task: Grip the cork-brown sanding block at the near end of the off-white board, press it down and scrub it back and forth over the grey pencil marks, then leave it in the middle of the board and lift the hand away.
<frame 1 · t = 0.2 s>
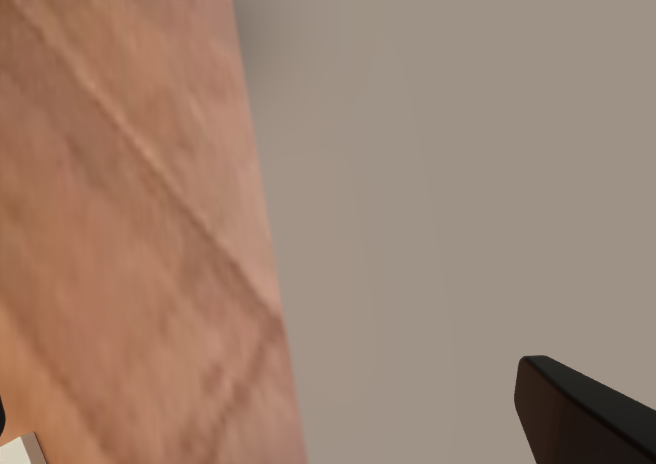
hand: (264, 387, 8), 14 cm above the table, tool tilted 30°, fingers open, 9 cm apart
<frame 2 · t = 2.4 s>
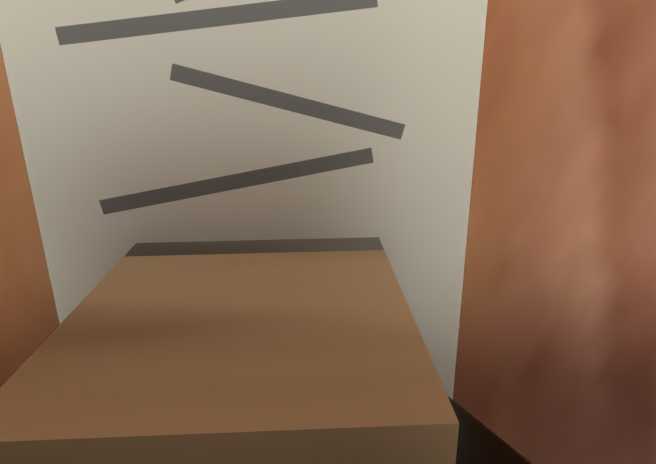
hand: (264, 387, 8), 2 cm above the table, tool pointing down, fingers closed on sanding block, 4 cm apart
board: (263, 221, 9), on the table
sanding block: (266, 369, 9), point 1 cm above the table, touching board, gripper
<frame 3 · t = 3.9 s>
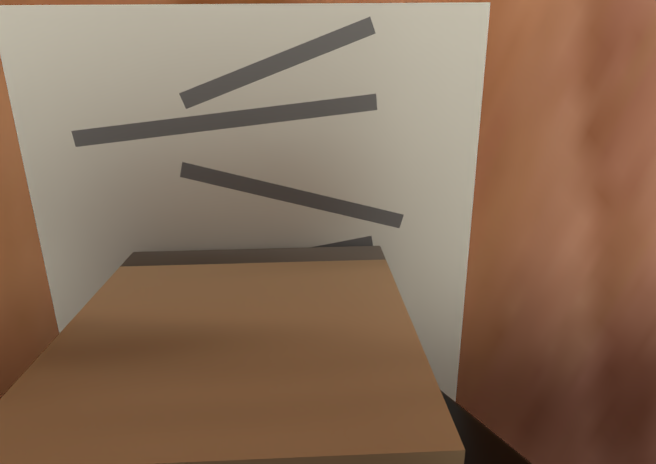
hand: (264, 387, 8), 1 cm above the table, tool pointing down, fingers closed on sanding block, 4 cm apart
board: (267, 294, 9), on the table
sanding block: (265, 378, 9), point 1 cm above the table, touching gripper
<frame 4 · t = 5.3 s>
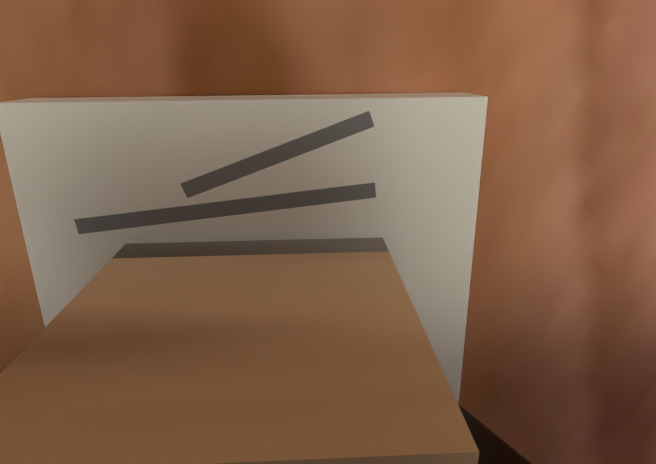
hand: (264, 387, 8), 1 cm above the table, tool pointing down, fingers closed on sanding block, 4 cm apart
board: (268, 360, 10), on the table
sanding block: (263, 375, 8), point 1 cm above the table, touching gripper
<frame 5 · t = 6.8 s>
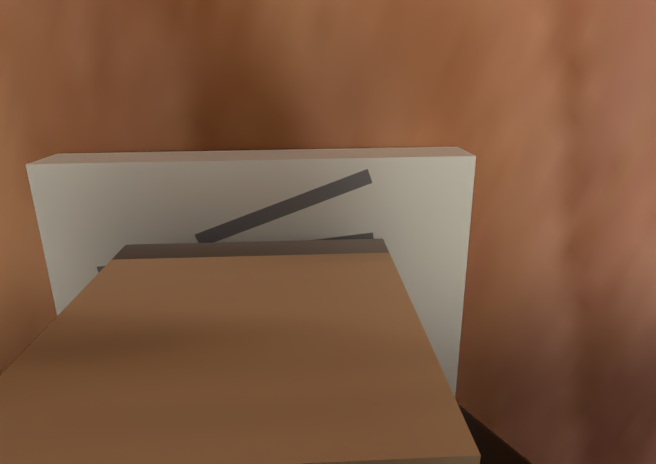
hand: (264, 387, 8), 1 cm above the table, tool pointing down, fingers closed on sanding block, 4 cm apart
board: (273, 390, 10), on the table
sanding block: (263, 376, 8), point 1 cm above the table, touching gripper
when the fingers open (1 cm above the table, at t = 8.1 s): sanding block stays where it is, resting on board.
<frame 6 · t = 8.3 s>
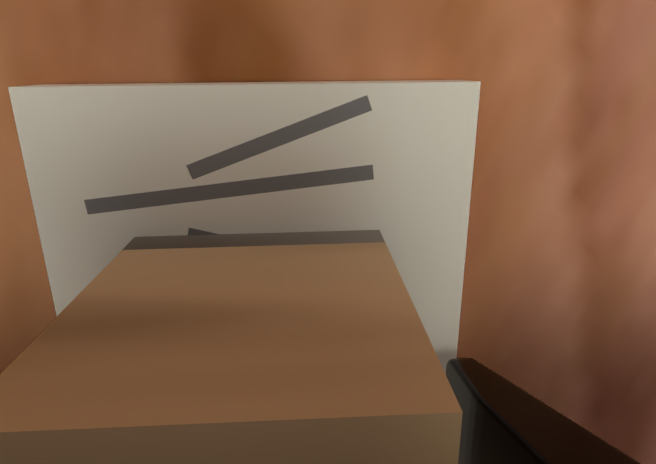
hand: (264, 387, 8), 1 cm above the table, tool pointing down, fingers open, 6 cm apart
board: (269, 341, 10), on the table
sanding block: (266, 363, 9), point 1 cm above the table, touching board
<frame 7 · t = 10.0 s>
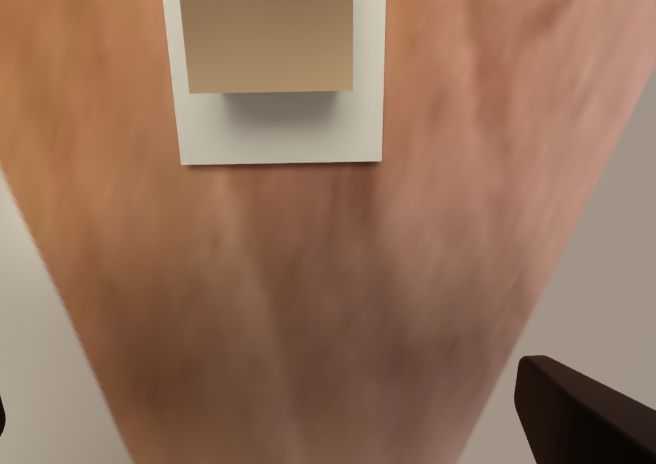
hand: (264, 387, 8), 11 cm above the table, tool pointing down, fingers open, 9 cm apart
board: (277, 9, 16), on the table
sanding block: (276, 1, 15), point 1 cm above the table, touching board
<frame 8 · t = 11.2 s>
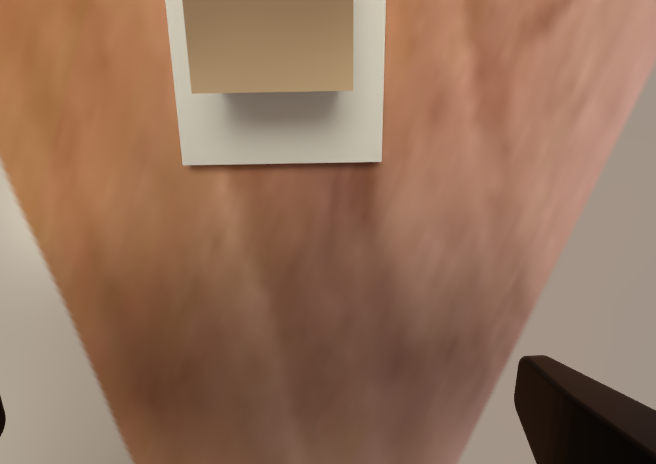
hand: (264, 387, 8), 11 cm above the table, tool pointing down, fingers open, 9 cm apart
board: (278, 11, 17), on the table
sanding block: (277, 3, 16), point 1 cm above the table, touching board
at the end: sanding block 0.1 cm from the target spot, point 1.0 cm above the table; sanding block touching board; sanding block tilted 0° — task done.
